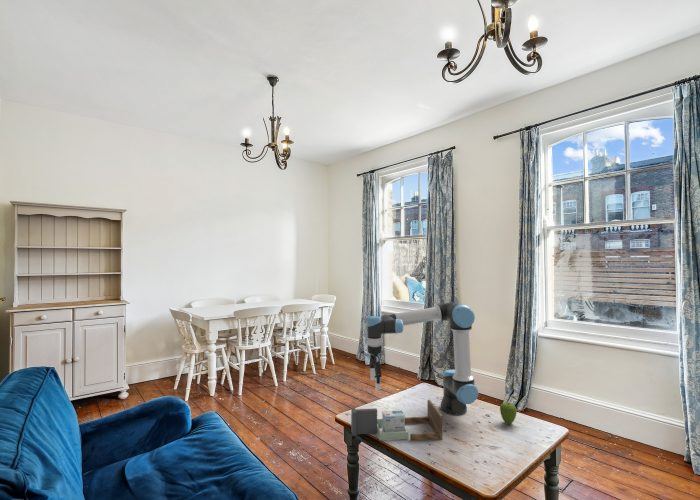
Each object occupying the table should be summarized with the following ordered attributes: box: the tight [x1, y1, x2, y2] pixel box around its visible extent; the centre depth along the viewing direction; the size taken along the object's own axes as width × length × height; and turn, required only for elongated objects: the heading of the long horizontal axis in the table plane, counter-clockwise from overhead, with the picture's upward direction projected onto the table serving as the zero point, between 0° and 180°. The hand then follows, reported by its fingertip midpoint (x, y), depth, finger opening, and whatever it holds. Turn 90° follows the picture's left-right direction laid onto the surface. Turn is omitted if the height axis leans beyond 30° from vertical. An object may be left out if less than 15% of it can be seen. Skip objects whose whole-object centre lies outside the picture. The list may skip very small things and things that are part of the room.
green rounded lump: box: [499, 401, 518, 425], centre depth 198 cm, size 9×8×12 cm
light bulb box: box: [381, 409, 406, 432], centre depth 187 cm, size 11×7×11 cm, turn 98°
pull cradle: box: [350, 407, 409, 441], centre depth 187 cm, size 28×16×12 cm, turn 96°
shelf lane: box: [405, 399, 444, 442], centre depth 189 cm, size 16×20×12 cm
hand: (375, 384), depth 195 cm, fingers open, 13 cm apart
